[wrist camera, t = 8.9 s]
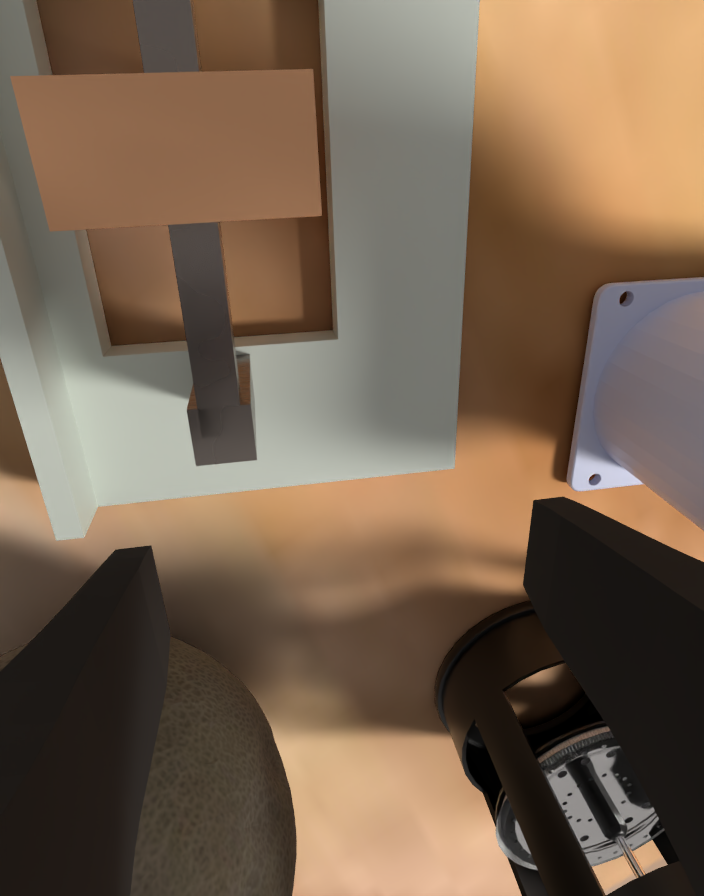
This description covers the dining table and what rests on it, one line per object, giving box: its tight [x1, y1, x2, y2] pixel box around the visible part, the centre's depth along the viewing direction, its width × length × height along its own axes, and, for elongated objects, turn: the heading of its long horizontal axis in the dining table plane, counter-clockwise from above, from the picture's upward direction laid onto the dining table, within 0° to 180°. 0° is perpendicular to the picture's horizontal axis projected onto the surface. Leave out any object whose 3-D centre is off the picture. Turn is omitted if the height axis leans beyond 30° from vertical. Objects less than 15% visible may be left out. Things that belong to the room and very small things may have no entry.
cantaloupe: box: [0, 636, 296, 896], centre depth 17 cm, size 14×14×15 cm
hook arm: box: [133, 0, 257, 466], centre depth 14 cm, size 2×11×6 cm, turn 2°
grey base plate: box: [0, 0, 480, 541], centre depth 15 cm, size 13×22×3 cm, turn 2°
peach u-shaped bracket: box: [10, 69, 322, 232], centre depth 13 cm, size 5×2×5 cm, turn 93°
